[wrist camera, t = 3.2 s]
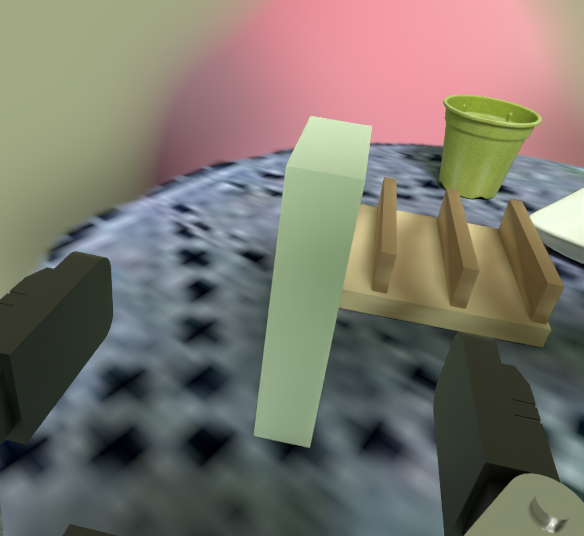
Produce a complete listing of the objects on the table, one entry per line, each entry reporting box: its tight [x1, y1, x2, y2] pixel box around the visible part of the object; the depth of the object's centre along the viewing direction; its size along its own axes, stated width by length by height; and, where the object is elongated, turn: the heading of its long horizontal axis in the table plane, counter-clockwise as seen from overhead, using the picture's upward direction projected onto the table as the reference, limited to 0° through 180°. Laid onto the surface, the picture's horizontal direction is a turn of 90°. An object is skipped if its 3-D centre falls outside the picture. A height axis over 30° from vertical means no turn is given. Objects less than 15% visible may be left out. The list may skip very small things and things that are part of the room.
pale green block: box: [254, 116, 372, 448], centre depth 25 cm, size 3×6×14 cm, turn 171°
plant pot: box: [439, 95, 542, 199], centre depth 55 cm, size 9×9×9 cm
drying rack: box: [339, 177, 564, 348], centre depth 40 cm, size 17×14×4 cm
